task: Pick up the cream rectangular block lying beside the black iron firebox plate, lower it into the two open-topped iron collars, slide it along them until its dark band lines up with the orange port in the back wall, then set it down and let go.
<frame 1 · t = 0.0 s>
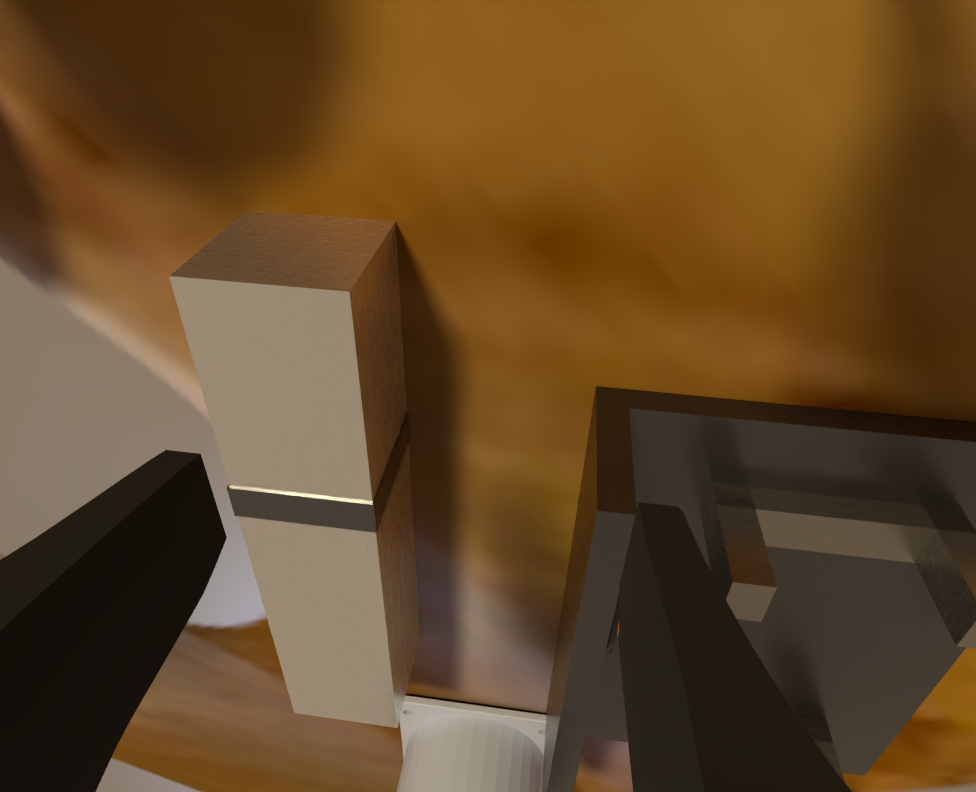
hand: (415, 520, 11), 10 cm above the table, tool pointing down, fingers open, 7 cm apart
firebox: (765, 608, 26), on the table
cream rectangular block: (353, 471, 25), on the table
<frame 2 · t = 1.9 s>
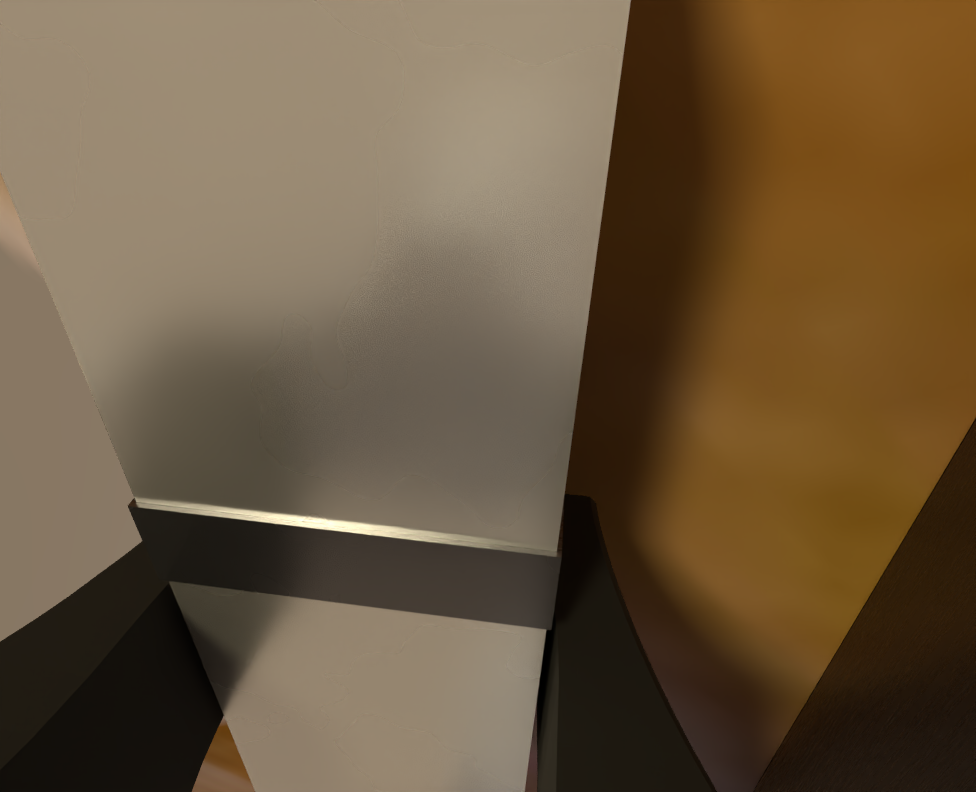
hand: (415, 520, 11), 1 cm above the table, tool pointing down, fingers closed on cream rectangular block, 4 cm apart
cream rectangular block: (432, 463, 12), on the table, touching gripper
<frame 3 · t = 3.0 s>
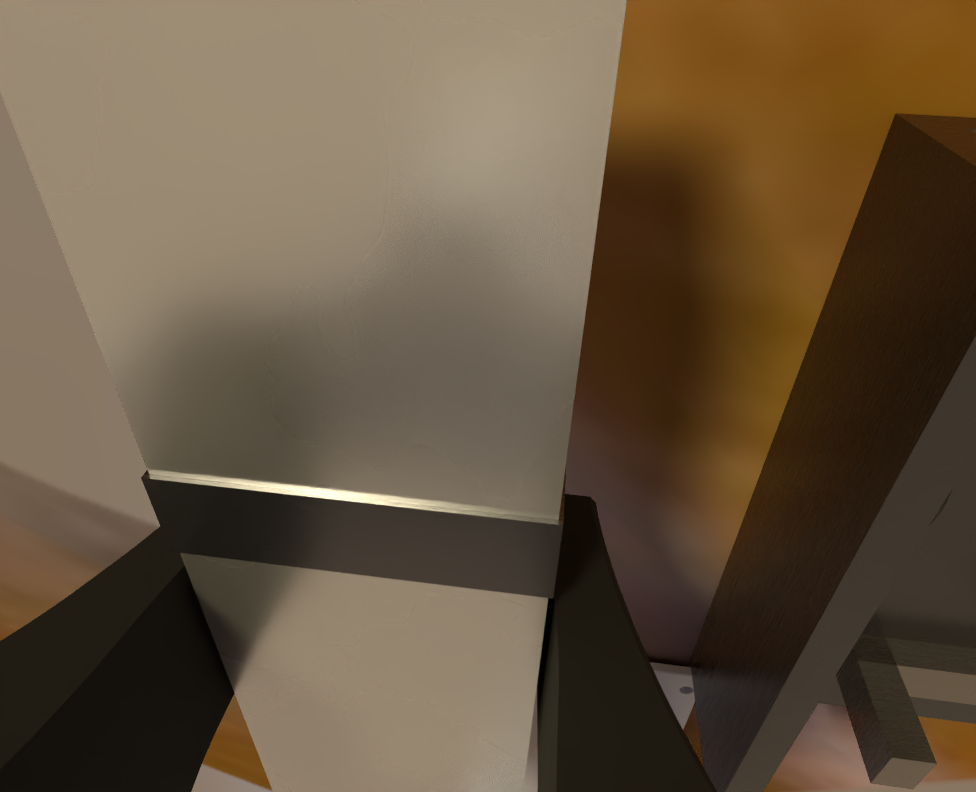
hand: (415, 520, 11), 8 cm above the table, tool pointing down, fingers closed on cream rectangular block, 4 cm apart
cream rectangular block: (435, 445, 12), point 6 cm above the table, touching gripper
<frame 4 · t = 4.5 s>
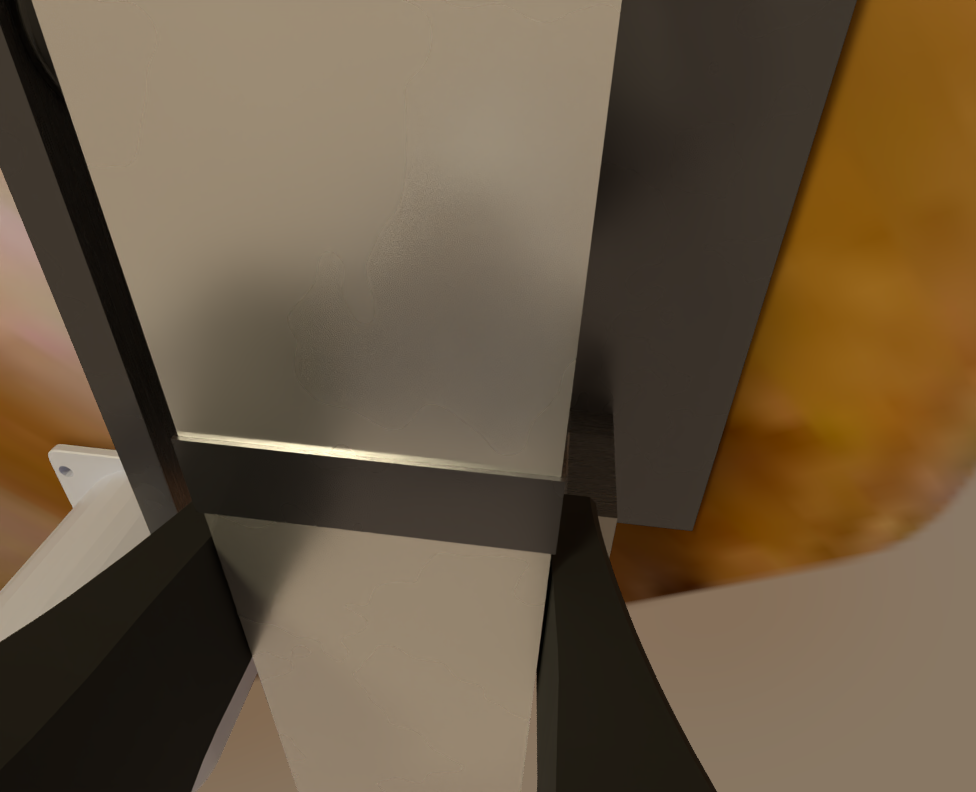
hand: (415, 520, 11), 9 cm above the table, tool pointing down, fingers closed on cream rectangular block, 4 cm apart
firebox: (486, 195, 16), on the table
cream rectangular block: (441, 424, 13), point 6 cm above the table, touching gripper
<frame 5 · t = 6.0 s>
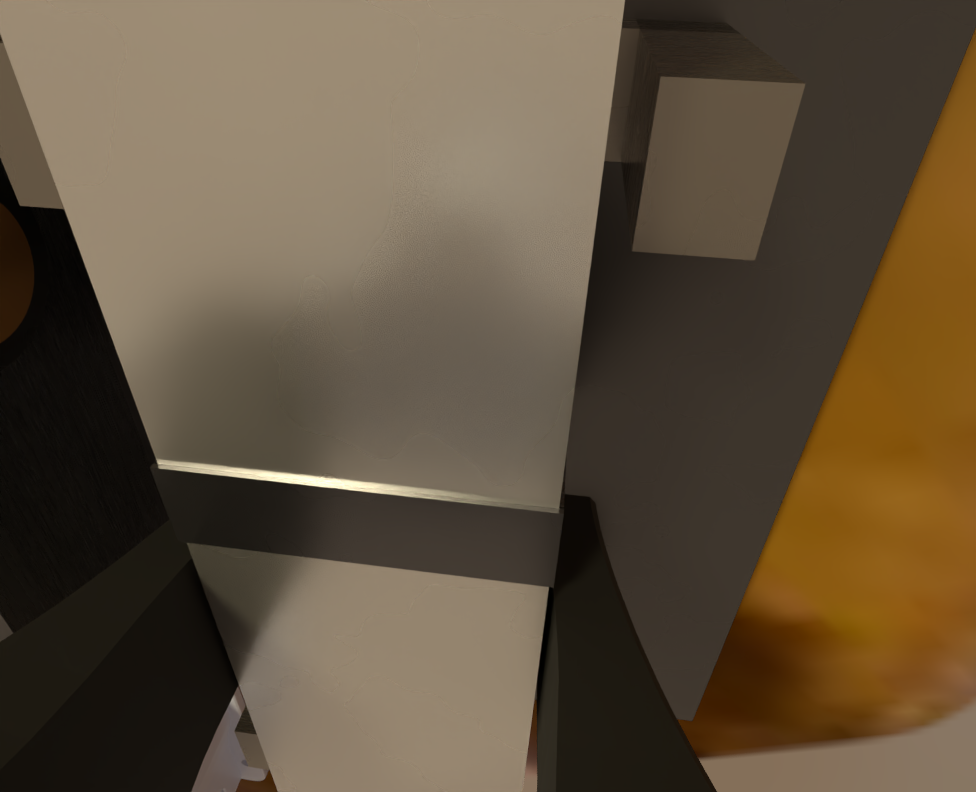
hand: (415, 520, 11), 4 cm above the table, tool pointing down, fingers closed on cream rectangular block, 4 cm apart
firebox: (453, 394, 14), on the table
cream rectangular block: (437, 442, 12), point 2 cm above the table, touching gripper
when the fingers open (4 cm above the table, at t = 7.2 s): cream rectangular block stays where it is, resting on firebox.
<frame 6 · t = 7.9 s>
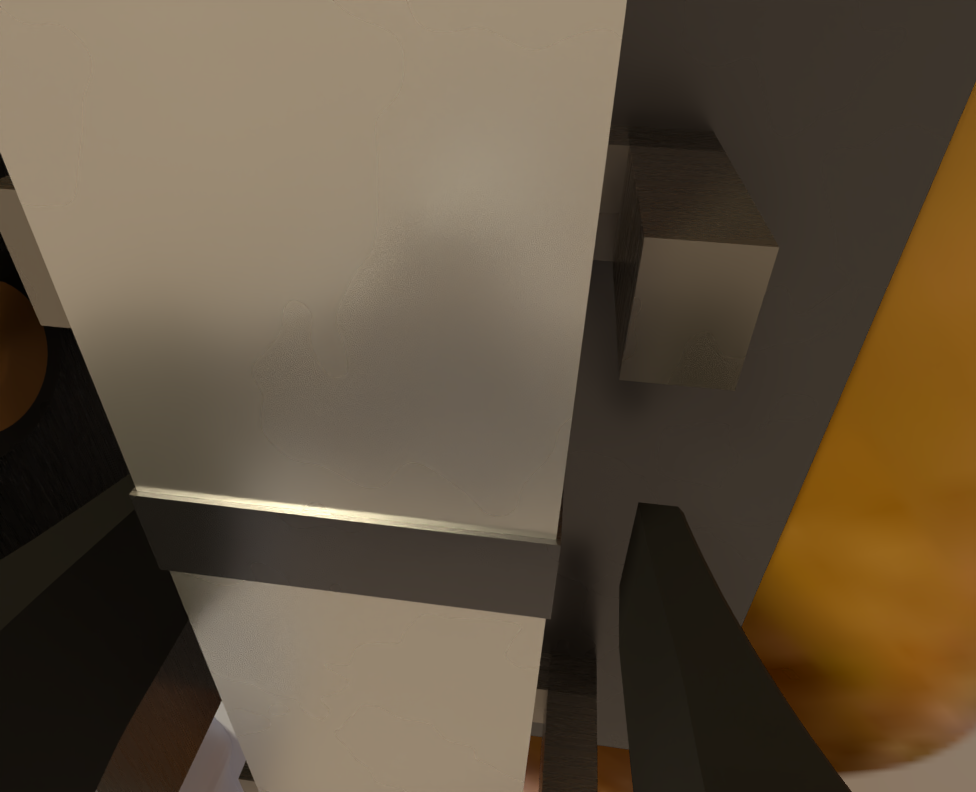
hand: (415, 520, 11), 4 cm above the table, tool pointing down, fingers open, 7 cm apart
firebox: (452, 451, 15), on the table
cream rectangular block: (432, 457, 12), point 2 cm above the table, touching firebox
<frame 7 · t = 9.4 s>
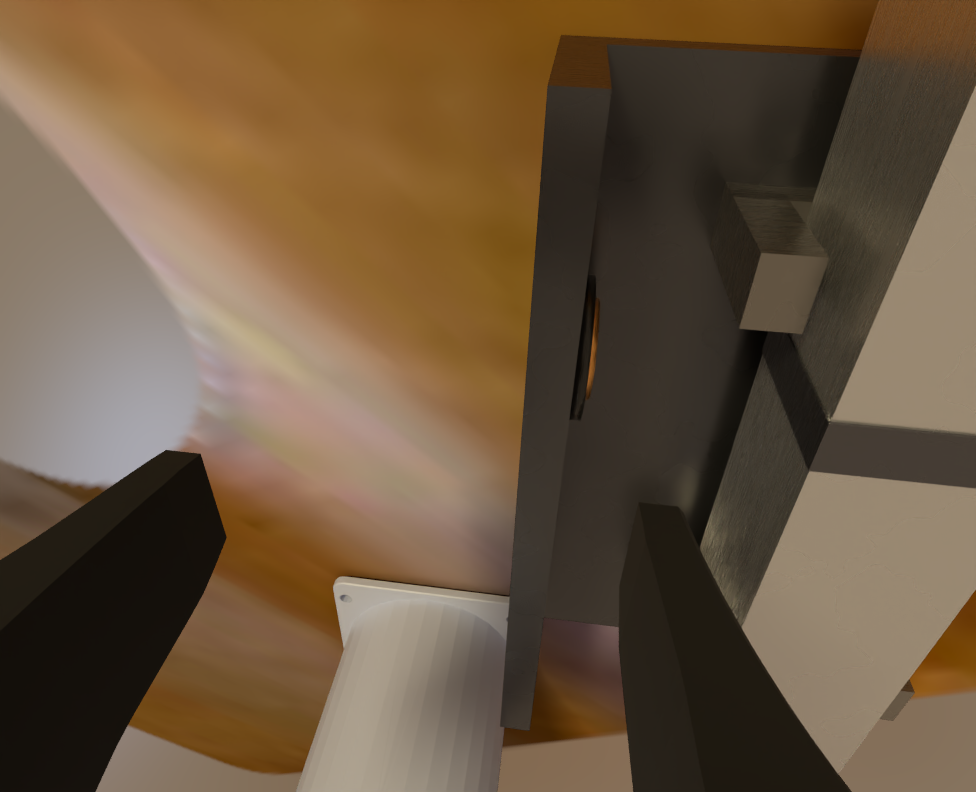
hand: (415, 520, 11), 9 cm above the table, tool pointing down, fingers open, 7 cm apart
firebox: (793, 419, 20), on the table
cream rectangular block: (828, 419, 17), point 2 cm above the table, touching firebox
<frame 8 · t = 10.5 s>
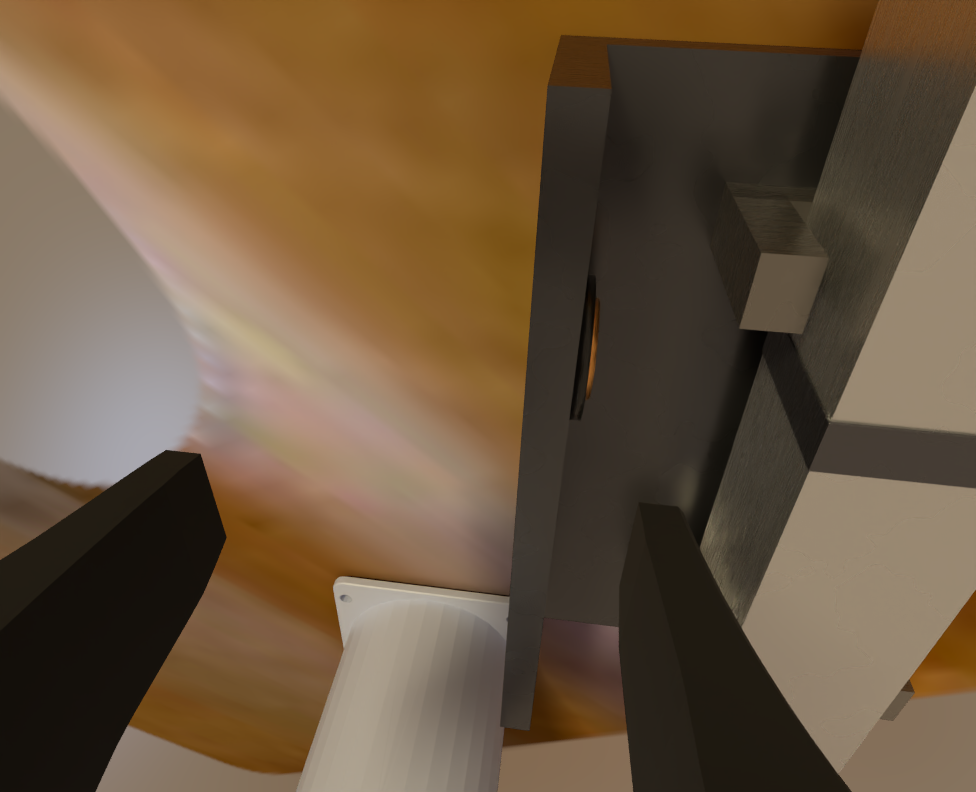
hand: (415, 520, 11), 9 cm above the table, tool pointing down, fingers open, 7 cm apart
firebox: (793, 419, 20), on the table
cream rectangular block: (828, 419, 17), point 2 cm above the table, touching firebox
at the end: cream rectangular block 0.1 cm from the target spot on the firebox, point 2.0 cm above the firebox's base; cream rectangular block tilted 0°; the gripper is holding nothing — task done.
